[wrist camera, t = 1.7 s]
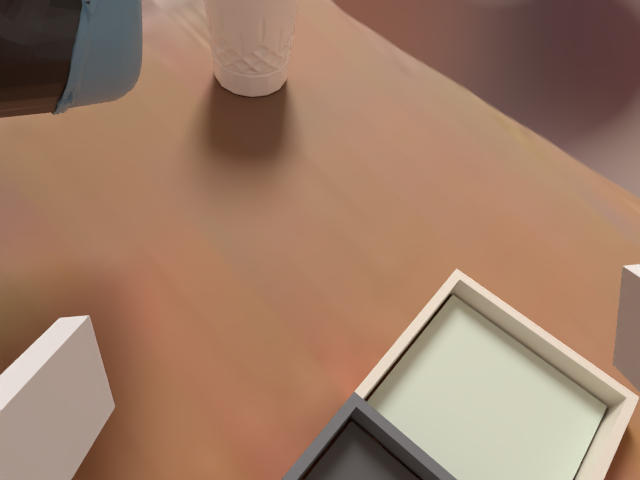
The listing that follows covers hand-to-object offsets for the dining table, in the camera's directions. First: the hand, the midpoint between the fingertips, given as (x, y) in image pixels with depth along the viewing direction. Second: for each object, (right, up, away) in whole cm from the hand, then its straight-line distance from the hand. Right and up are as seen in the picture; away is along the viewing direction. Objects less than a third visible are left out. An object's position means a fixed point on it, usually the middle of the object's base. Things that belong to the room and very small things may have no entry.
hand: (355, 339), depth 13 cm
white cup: (-7, +18, +35) cm, 40 cm away
